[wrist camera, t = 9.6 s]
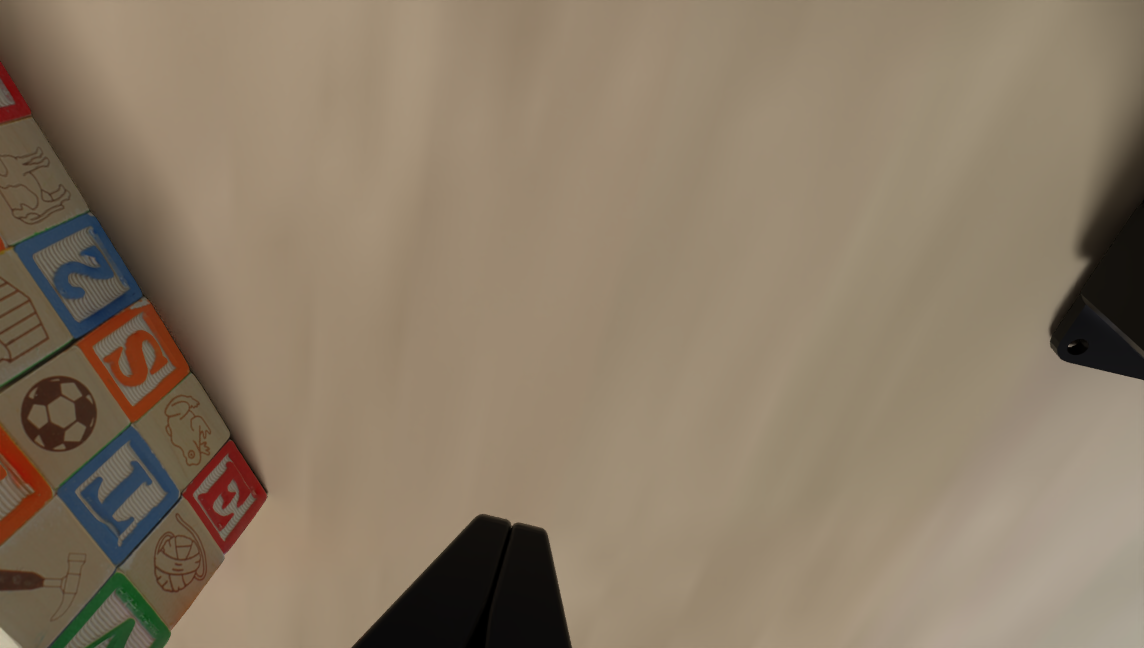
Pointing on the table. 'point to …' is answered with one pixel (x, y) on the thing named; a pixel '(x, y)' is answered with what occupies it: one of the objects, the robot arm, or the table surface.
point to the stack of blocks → (96, 428)
